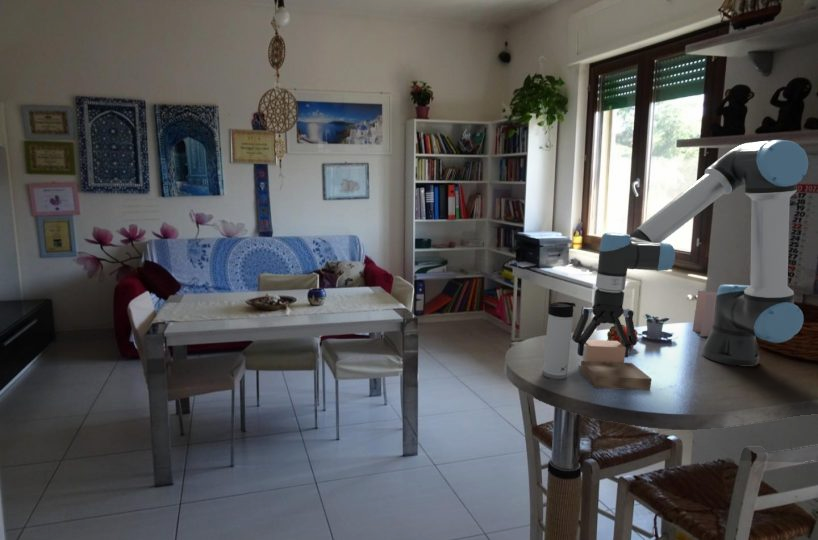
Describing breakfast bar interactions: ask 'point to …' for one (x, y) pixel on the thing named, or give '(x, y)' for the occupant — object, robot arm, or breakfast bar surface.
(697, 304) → the greeting card
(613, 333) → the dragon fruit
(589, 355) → the block
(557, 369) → the travel mug
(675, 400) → the breakfast bar surface
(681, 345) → the breakfast bar surface
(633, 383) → the brown wooden board
